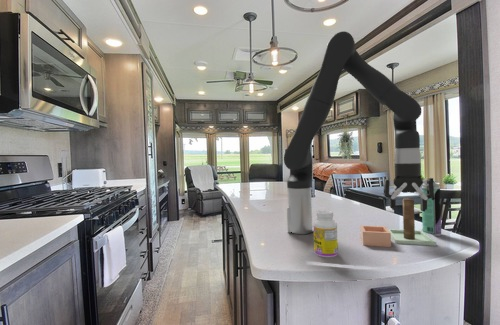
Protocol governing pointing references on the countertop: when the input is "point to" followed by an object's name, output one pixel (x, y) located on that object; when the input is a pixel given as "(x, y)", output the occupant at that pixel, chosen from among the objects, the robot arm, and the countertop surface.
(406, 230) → the dowel
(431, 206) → the spray can
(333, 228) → the supplement bottle
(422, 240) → the tray
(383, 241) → the peach planter box
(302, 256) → the countertop surface
